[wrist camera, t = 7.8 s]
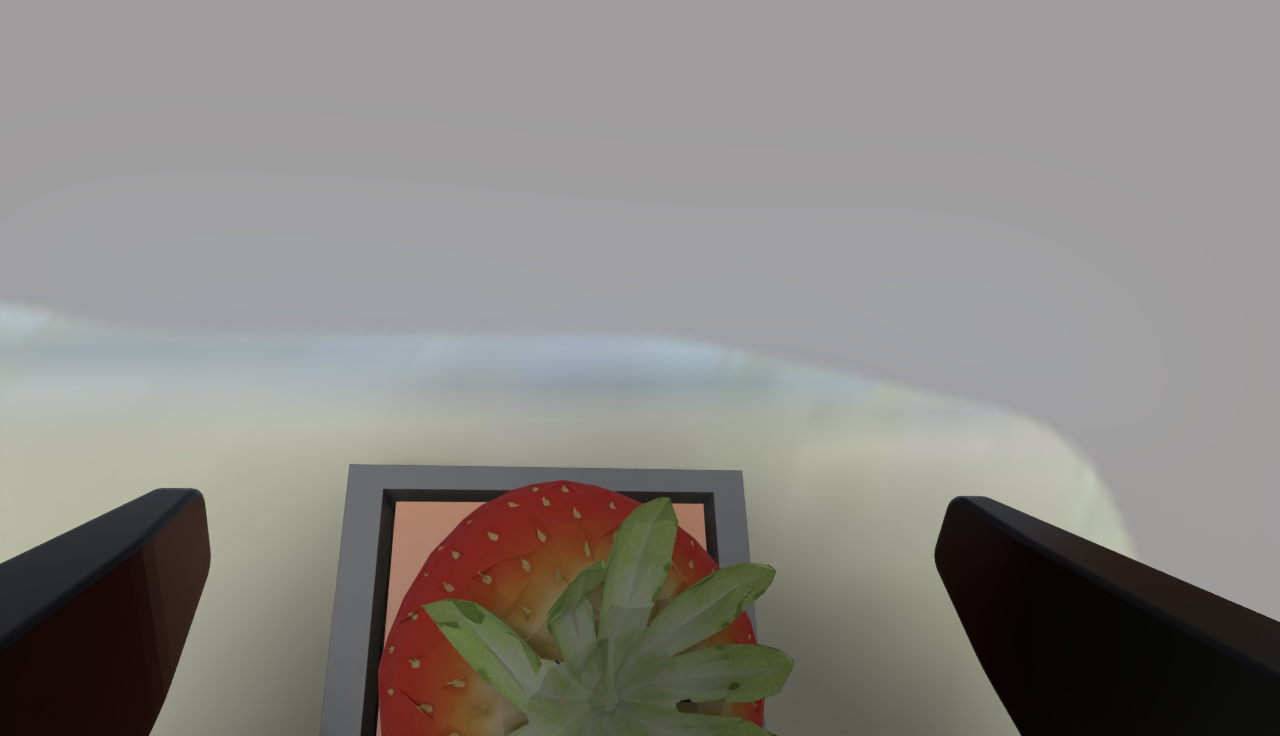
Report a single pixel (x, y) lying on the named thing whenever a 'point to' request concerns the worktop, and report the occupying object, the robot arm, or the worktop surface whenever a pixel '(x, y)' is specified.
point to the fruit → (577, 626)
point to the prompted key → (434, 521)
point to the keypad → (384, 485)
